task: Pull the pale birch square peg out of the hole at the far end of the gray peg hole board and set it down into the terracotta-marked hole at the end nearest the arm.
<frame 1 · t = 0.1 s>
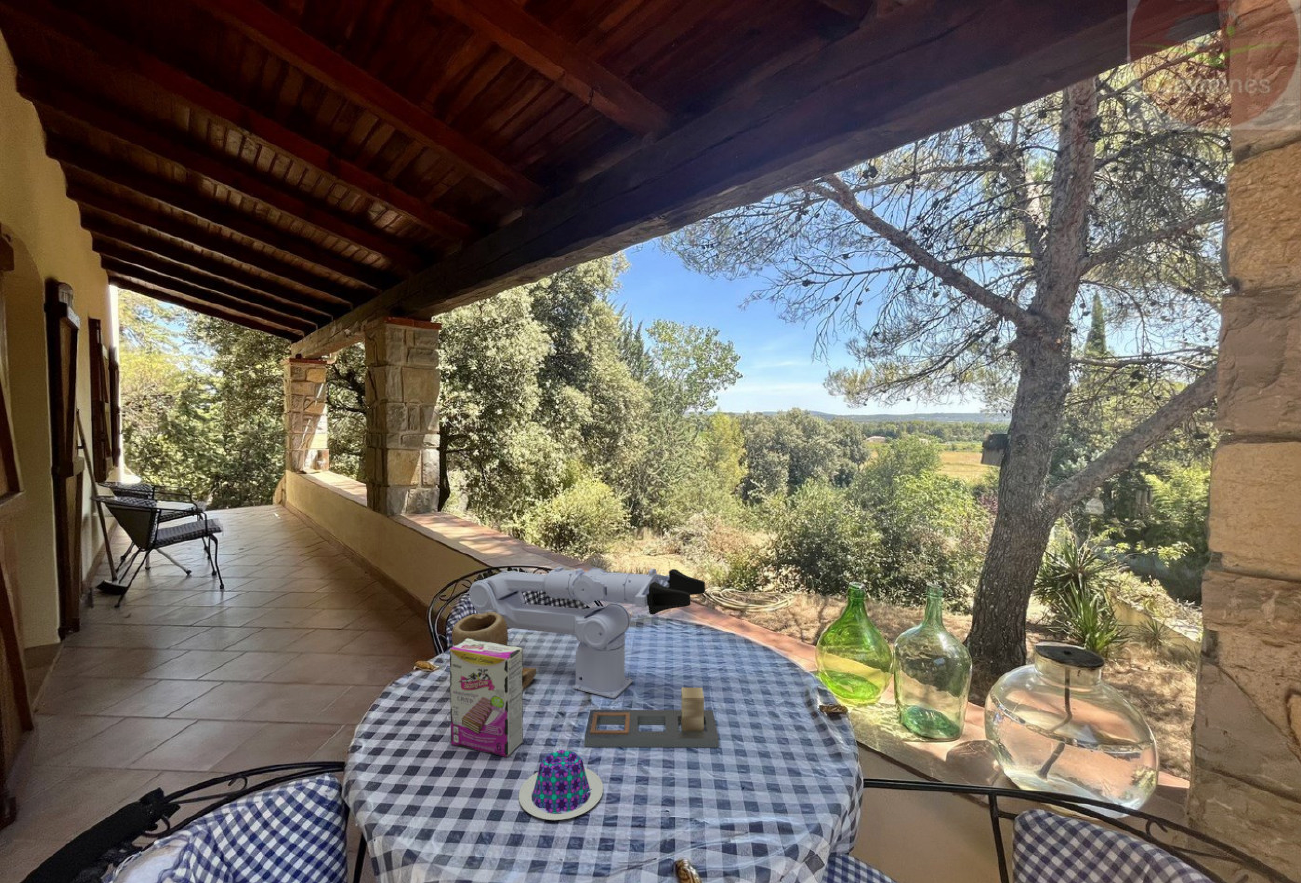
hand: (697, 593, 106), 22 cm above the table, tool horizontal, fingers open, 7 cm apart
gray peg hole board: (651, 732, 99), on the table
stone cup: (490, 691, 114), on the table
candy bar box: (486, 745, 95), on the table
pudding: (561, 796, 83), on the table
birch peg: (692, 732, 99), resting in gray peg hole board
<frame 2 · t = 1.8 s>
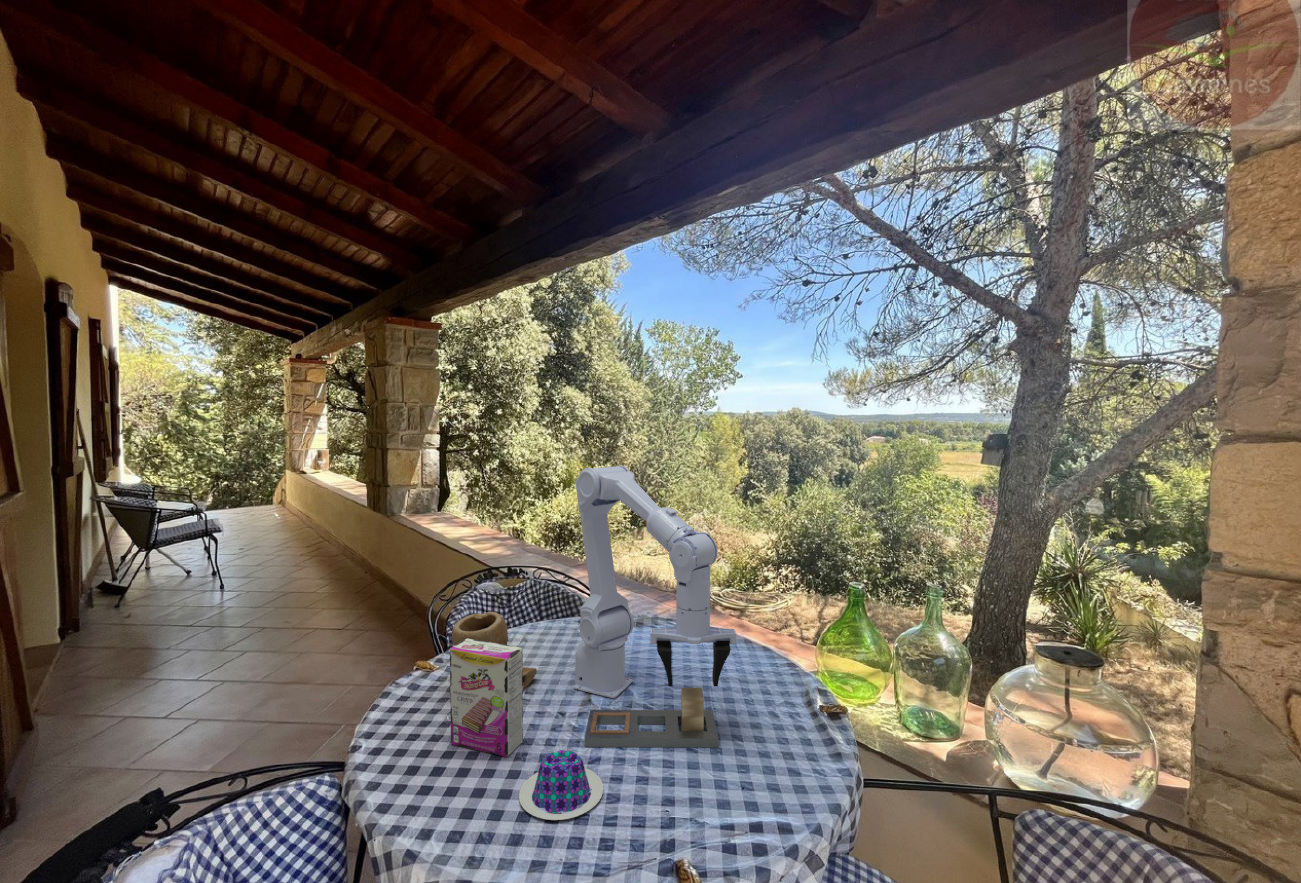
hand: (692, 683, 99), 9 cm above the table, tool pointing down, fingers open, 7 cm apart
nothing on the table moved.
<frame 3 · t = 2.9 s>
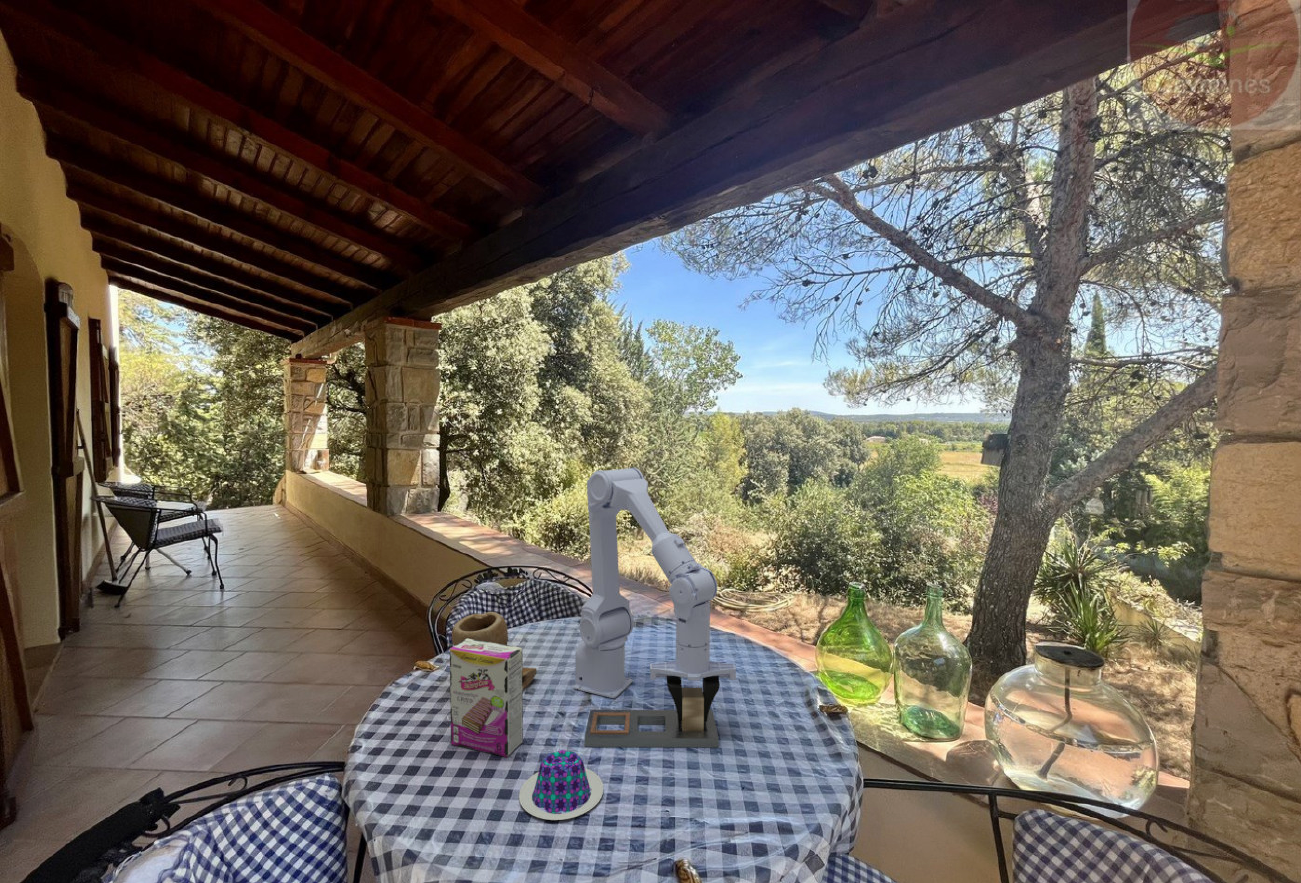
hand: (692, 718, 99), 2 cm above the table, tool pointing down, fingers closed on birch peg, 4 cm apart
birch peg: (692, 732, 99), resting in gray peg hole board, touching gripper
everything else where it was.
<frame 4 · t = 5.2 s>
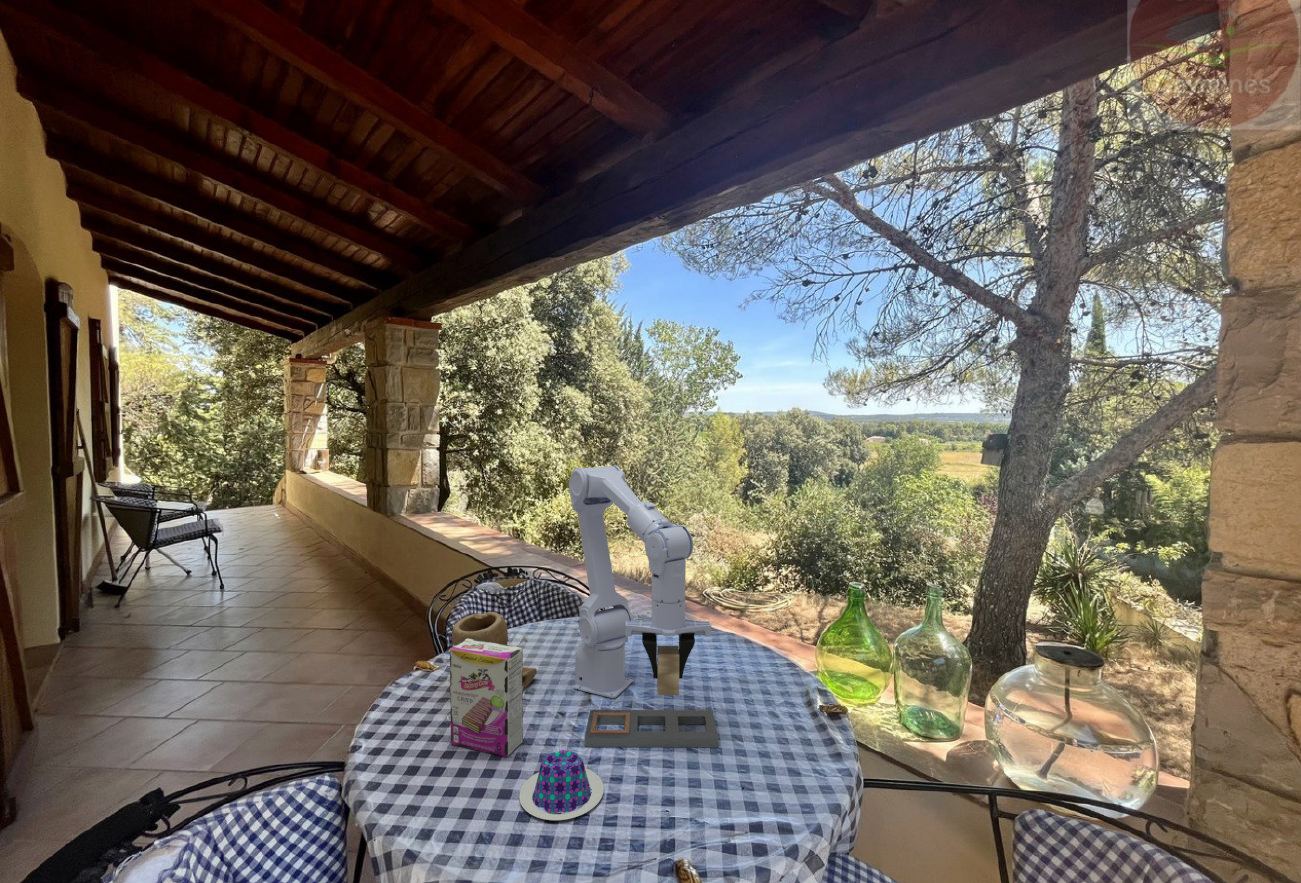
hand: (667, 676, 99), 10 cm above the table, tool pointing down, fingers closed on birch peg, 4 cm apart
birch peg: (667, 689, 99), point 7 cm above the table, touching gripper
everything else where it was.
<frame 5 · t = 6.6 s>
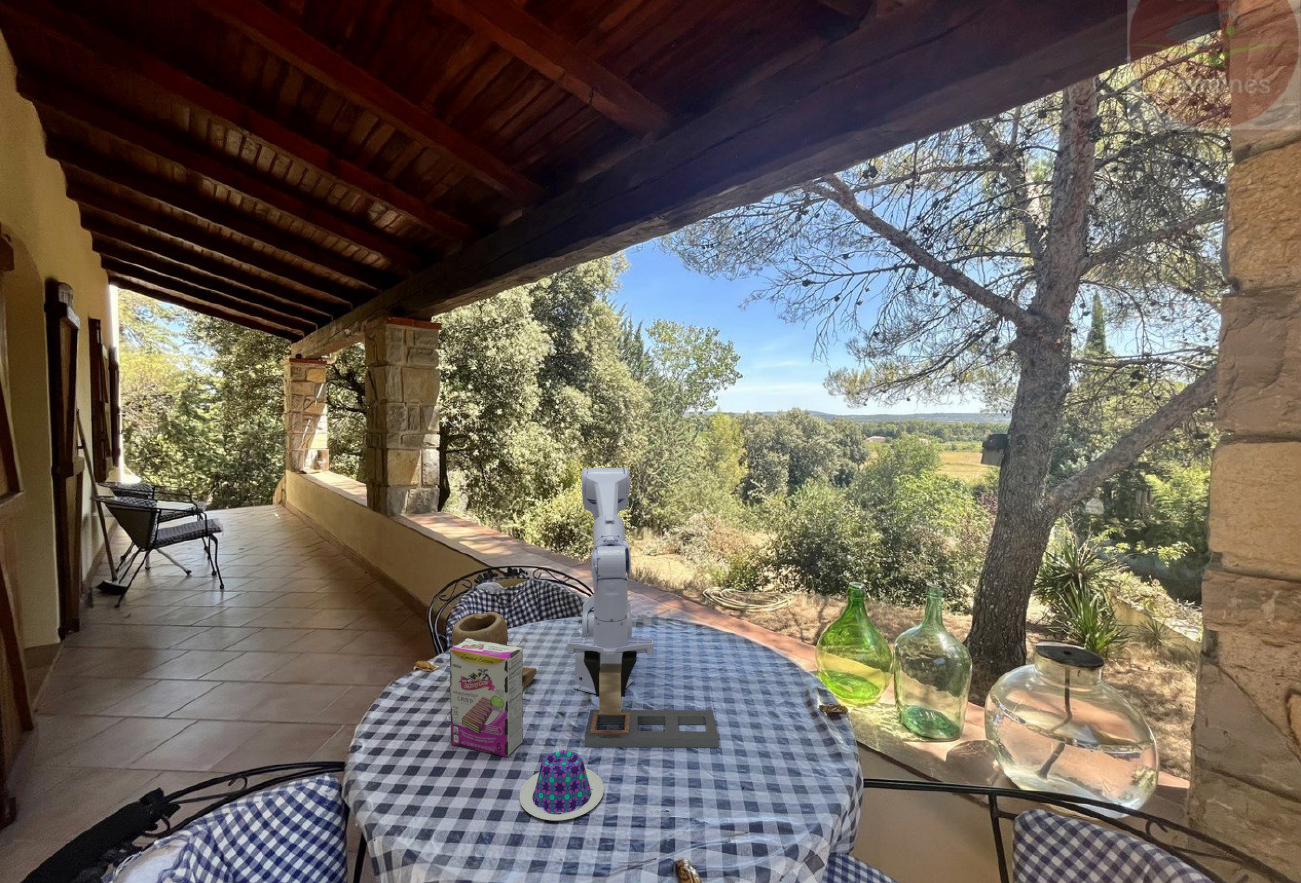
hand: (610, 694, 99), 7 cm above the table, tool pointing down, fingers closed on birch peg, 4 cm apart
birch peg: (610, 708, 99), point 4 cm above the table, touching gripper
everything else where it was.
when the fingers open (3 cm above the table, at t = 7.7 s): birch peg drops 1 cm, resting in gray peg hole board.
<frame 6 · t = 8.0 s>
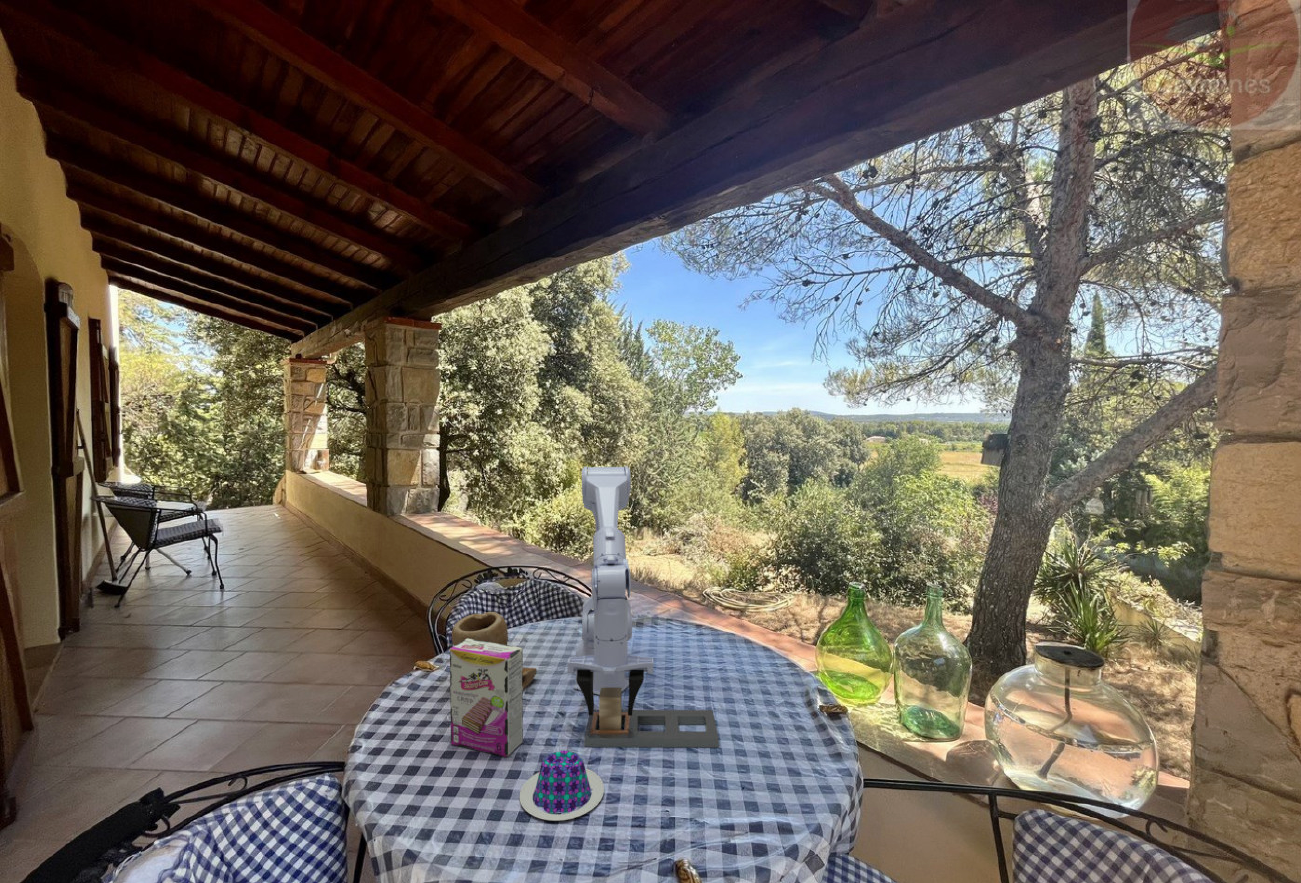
hand: (610, 712, 99), 3 cm above the table, tool pointing down, fingers open, 6 cm apart
birch peg: (610, 732, 99), resting in gray peg hole board
everything else where it was.
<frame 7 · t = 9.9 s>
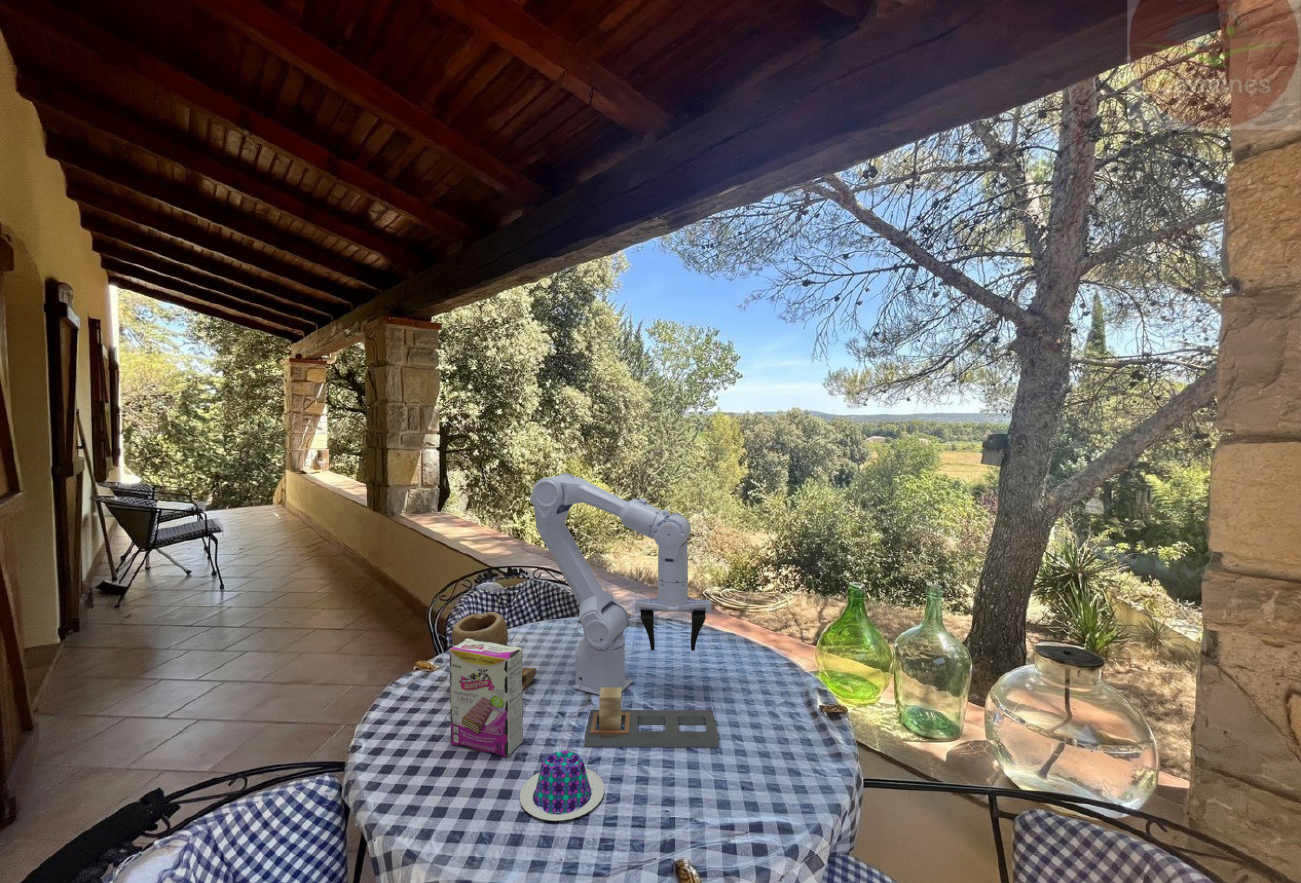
hand: (672, 648, 111), 10 cm above the table, tool pointing down, fingers open, 7 cm apart
nothing on the table moved.
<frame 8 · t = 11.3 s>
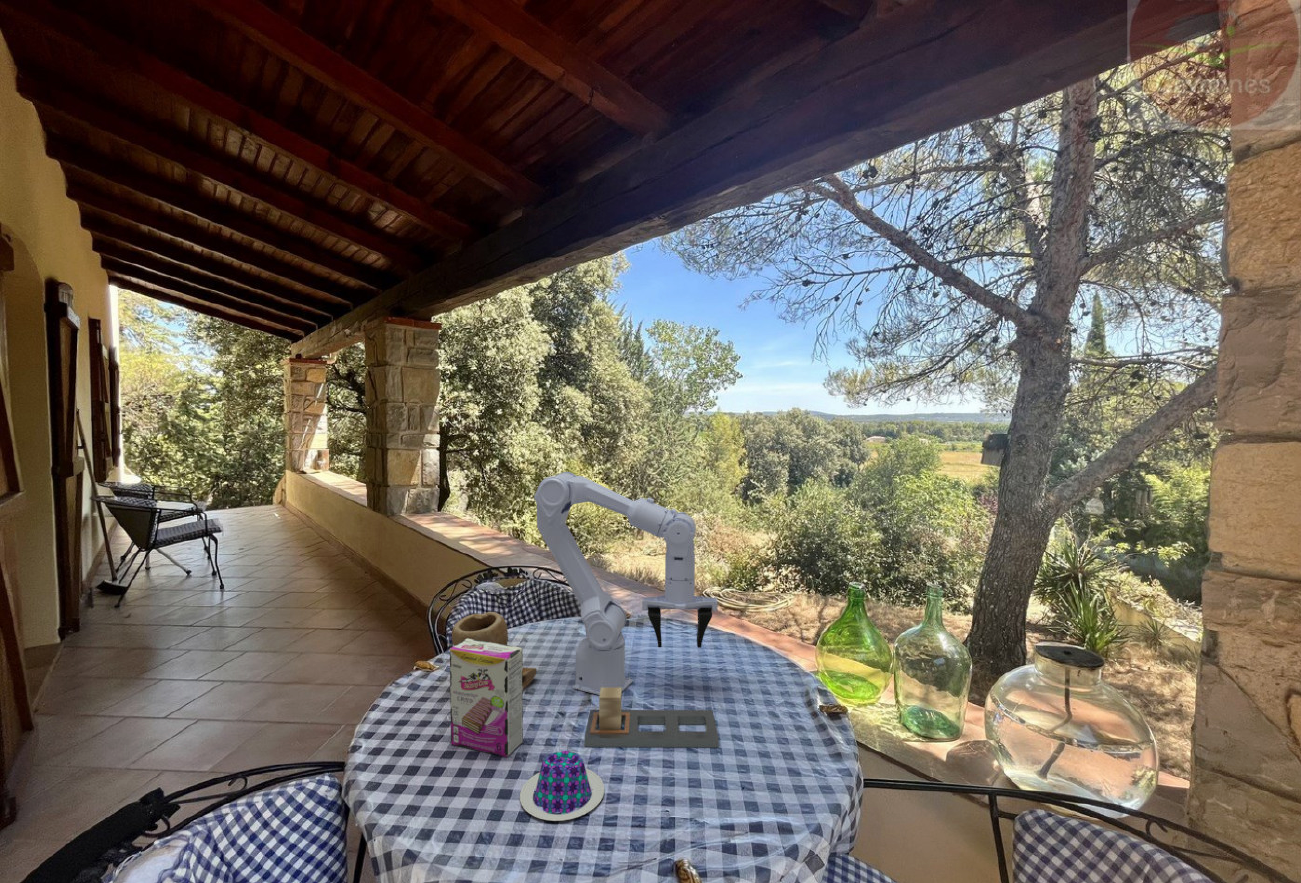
hand: (679, 645, 113), 9 cm above the table, tool pointing down, fingers open, 7 cm apart
nothing on the table moved.
at the end: birch peg 0.1 cm from the target spot on the gray peg hole board, point 0.0 cm above the gray peg hole board's base; birch peg tilted 0°; the gripper is holding nothing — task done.
